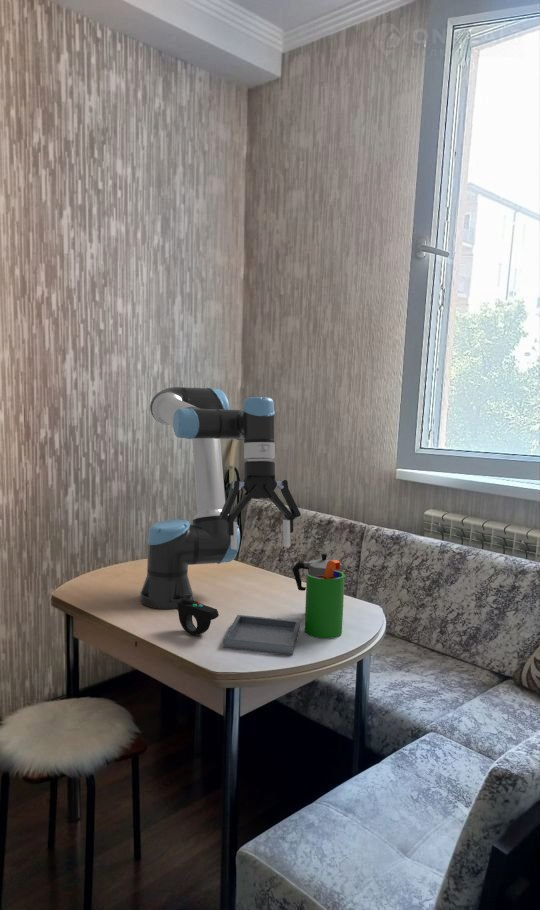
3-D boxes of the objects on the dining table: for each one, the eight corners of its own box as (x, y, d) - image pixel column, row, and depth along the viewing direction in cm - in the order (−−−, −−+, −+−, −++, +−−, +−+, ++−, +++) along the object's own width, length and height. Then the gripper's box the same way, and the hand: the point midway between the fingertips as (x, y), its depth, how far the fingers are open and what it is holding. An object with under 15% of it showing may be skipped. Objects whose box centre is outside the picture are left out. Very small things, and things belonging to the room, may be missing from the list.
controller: (185, 626, 182) (186, 589, 181) (220, 639, 174) (221, 600, 173) (173, 630, 178) (174, 593, 177) (208, 643, 171) (209, 604, 170)
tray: (237, 623, 185) (237, 614, 185) (299, 630, 183) (300, 621, 183) (223, 648, 169) (224, 638, 168) (292, 655, 166) (293, 645, 166)
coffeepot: (338, 609, 201) (342, 549, 199) (348, 621, 192) (352, 558, 190) (286, 610, 198) (290, 549, 196) (294, 622, 189) (297, 558, 187)
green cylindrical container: (321, 622, 189) (325, 551, 187) (349, 631, 184) (353, 558, 181) (299, 632, 181) (303, 558, 179) (327, 642, 176) (332, 565, 174)
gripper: (214, 460, 161) (215, 551, 160) (312, 459, 169) (314, 546, 169) (206, 461, 168) (207, 548, 167) (300, 460, 176) (302, 544, 176)
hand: (260, 547), depth 168 cm, fingers open, 13 cm apart
